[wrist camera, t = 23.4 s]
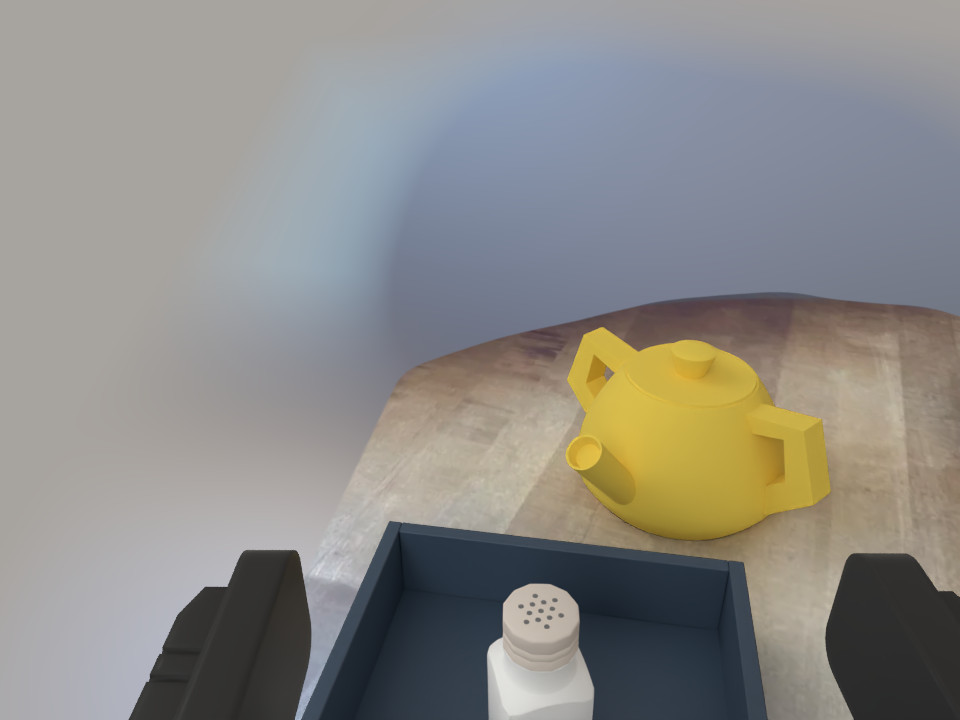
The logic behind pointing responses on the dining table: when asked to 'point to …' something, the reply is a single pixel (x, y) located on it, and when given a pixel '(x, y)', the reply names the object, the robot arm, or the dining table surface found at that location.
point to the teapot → (689, 439)
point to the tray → (602, 630)
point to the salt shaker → (539, 659)
